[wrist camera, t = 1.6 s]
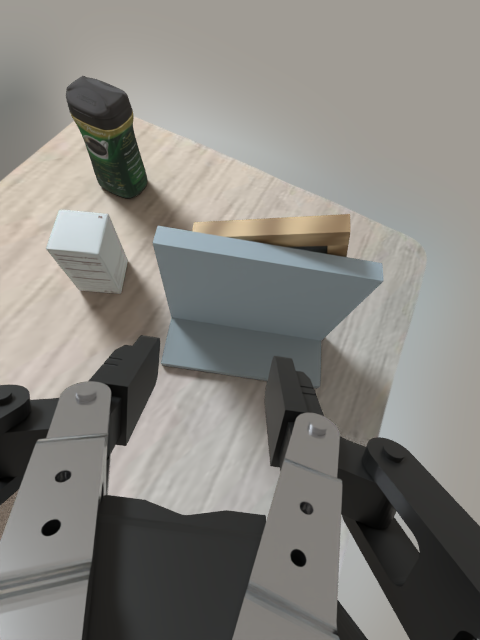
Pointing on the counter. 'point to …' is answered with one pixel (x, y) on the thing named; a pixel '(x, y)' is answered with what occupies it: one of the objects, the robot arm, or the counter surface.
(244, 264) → the bookend
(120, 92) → the coffee jar
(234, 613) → the robot arm
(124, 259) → the supplement box
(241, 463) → the counter surface
